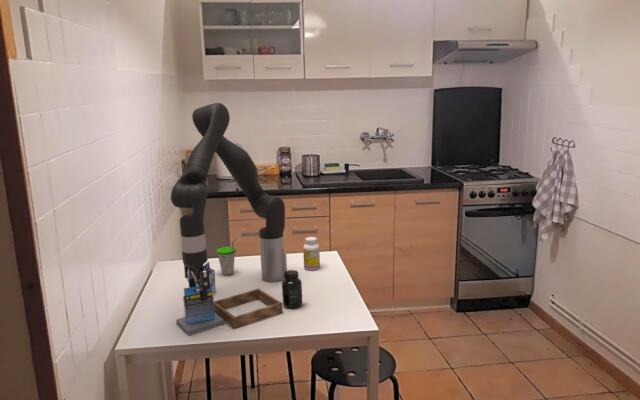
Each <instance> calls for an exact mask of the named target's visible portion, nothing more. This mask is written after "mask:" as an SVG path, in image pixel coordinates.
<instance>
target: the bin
mask: <svg viewBox="0 0 640 400" xmlns="http://www.w3.org/2000/svg"><path fill="white" fill-rule="evenodd" d="M257 300H259V302H261V303H263V304H264V305H266V306H265V307H261V308H258V309H254V310H251V311H248V312H244V313H242V314H238V315H236V316H235V315H233V314H232V313H231V312H230V311H229V310H228V309H230V308H234V307H237V306H241V305H243V304H247V303H250V302H253V301H257ZM213 302H214V312H215V313H216V314H217V315H218V316H220V317H221V318H222V319H223V320H224V323H226V324H227V325H229V326H230V327H231V328H233V329H234V330H236V329H238V328H241V327H245V326H248V325H249V324H253V323H256V322H259V321H262V320H265V319H268V318H271V317H274V316H277V315H281V314H283V312H284V309H283V302H281V301H280V300H278V299H276V298H275V297H273V296H272V295H270V294H268V293H266V292H264V290H261V289H260V288H254V289H252V290H247V291H245V292H242V293H239V294H235V295H231V296H228V297H224V298H221V299H217V300H213Z"/></svg>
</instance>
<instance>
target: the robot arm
mask: <svg viewBox="0 0 640 400" xmlns="http://www.w3.org/2000/svg"><path fill="white" fill-rule="evenodd" d="M191 115H192V117H191V118H192V121H193V125H194V127H195V128H196V130H197V132H198V133H199V134H200V135H201V136H202V138H201V139H200V141H198V143H197V145H196V146H195V147H194V149H192V151H191V152H190V155H189V157H188V159H187V163H186V165H185V169H184V171H183V172H182V174H181V175H180V176H179V179H177V181H176V183H174V185H173V186H172V188H171V189H172V190H171V193H170V200H171V203H172V205H173V206H174V207H176V208H179V209H180V208H181V209H185V208H186V209H192V210H193V211H192V213H188V214H185V215H182V216H181V217H180V219H179V227H180V245H181V246H180V247H181V255H182V263H183V268H184V278H185V279H186V280H187V282H188V288H190V287H196V286H197V285H198V287H199V290H200V300H201V301H202V302H203V301H207V300H208V293H207V289H210V279H209V271H208V270H205V269H204V267H203V266H204V265H205V264H207V263H208V258H209V257H208V250H207V249H208V248H207V238H206V234H205V227H204V226H205V225H204V224H205V223H204V219H205V218H204V217H205V209H206V205H207V201H208V194H207V193H208V192H207V191H206V188H205V187H204V186H203V185H201V184H204V183H205V182H206V181H207V178H208V174H209V171H210V167H211V164H212V161H213V159H214V155H215V153H216V154H217V156H218V157H219V159H220V160H221V162H222V163H223V164H224V166H225V168H226V169H227V171H228V172H229V174H230V176H232V178H233V179H234V180H235V182H236V184H237V185H238V186H239V188H240V189H241V190H242V192H243V194H244V195H245V197H246V199H247V200H248V202H249V204H250V206H251V208H252V210H253V212H254V214H256V216H258V217H259V218H261V219H265V226H264V227H261V228H260V229H259V232H258V234H259V250H260V253H259V255H260V268H261V269H260V270H261V271H260V272H261V279H262V281H264V282H269V283H270V282H271V283H274V282H280V281H283V280H284V279H285V278H284V272H286V271H288V264H287V262H288V261H287V253H285V243H284V231H285V229H286V206H285V203H284V200H283V199H282V198H281V197H279V196H276V195H271V194H268V193H267V192H266V191H265V190H264V189H263V187H262V186H261V184H260V182H259V180H258V179H259V177H258V169H257V165H256V164H255V163H254V161H253V159H252V157H251V155H249V153H248V152H247V151H246V150H245V149H243V148H242V147H241V146H239V145H237V144H236V143H234V142H232V141H231V140H229V139H228V138H226V137H225V136H224V135H225V134H226V133H225V132H226V131H227V129H228V127H229V124H230V117H231V116H230V112H229V110H228V107H226V105H224V104H223V103H221V102H214V103H210V104H207V105H203V106H201V107H200V106H199V107H198V108H195V109H194V110H193V112H192V114H191ZM200 283H201V284H200ZM204 285H205V286H204ZM194 292H197V290H194Z"/></svg>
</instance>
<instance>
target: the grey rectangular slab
mask: <svg viewBox="0 0 640 400" xmlns="http://www.w3.org/2000/svg"><path fill="white" fill-rule="evenodd" d="M214 313H215V312H214ZM175 322H176V325H177V326H178V327H179V328H180V329H181V330H182V331H183V332H184V333H185V334H186V335H187V336H191V335H195V334H199V333H201V332H204V331H207V330H210V329H214V328H217V327H220V326H224V325H225V321H224V320H223V319H222V318H221V317H220V316H218V315H217V314H216V313H215V319H213V320H207V321H202V322H198V323H193V324H189V325H187V323H186V320H185V316H184V317H180V318H177V319H176V320H175Z"/></svg>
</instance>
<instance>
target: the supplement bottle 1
mask: <svg viewBox="0 0 640 400" xmlns="http://www.w3.org/2000/svg"><path fill="white" fill-rule="evenodd" d="M281 281H282V282H281V290H282V291H281V292H282V293H281V295H282V307H284V308H285V309H290V310H292V309H297V308H300V307H302V306H303V283H302V280H301V279H300V278H299V271H298V270H295V269H290V270H287V271H286V272H284V279H283V280H281Z"/></svg>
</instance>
